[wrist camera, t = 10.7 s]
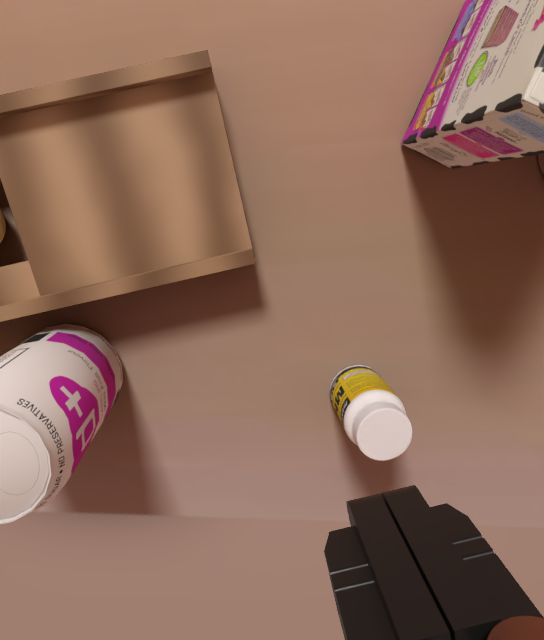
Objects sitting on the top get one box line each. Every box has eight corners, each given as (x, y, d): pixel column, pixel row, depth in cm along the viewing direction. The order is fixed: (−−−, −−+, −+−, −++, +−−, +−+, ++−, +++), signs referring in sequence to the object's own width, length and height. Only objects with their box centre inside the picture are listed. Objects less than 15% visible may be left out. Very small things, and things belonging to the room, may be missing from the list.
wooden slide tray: (210, 67, 36) (207, 49, 32) (253, 257, 39) (255, 263, 35) (-148, 145, 35) (-198, 138, 31) (-73, 331, 38) (-109, 346, 34)
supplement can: (121, 321, 39) (55, 389, 25) (127, 417, 41) (69, 533, 27) (15, 322, 39) (-116, 392, 24) (26, 419, 41) (-90, 539, 26)
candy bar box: (454, 172, 39) (608, 150, 23) (398, 145, 38) (517, 103, 22) (523, 27, 37) (745, -108, 21) (465, -4, 36) (649, -170, 20)
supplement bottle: (324, 370, 42) (346, 410, 33) (378, 358, 42) (414, 395, 34) (333, 421, 43) (357, 472, 35) (386, 410, 43) (422, 458, 35)
